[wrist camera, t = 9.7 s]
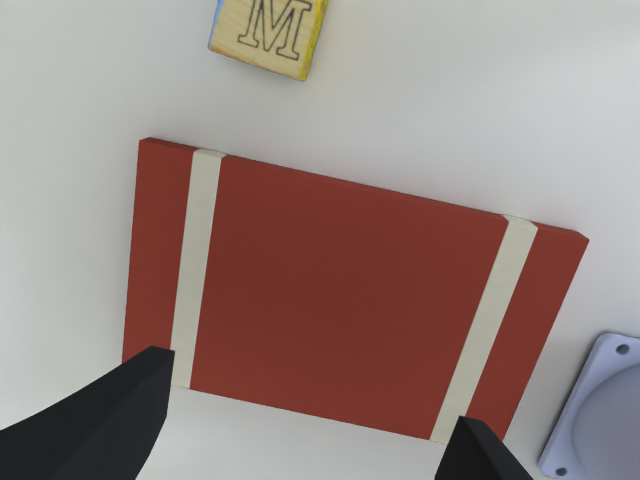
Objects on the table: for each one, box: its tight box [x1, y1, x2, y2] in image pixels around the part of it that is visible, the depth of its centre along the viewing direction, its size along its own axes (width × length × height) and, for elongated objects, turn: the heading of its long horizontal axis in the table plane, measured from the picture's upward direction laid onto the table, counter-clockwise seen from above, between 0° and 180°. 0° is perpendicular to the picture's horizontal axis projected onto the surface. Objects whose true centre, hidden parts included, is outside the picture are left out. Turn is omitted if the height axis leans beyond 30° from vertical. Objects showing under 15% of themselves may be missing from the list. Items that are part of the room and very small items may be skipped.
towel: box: [122, 137, 589, 445], centre depth 20 cm, size 18×11×1 cm, turn 78°
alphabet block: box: [208, 0, 328, 81], centre depth 16 cm, size 3×3×3 cm
